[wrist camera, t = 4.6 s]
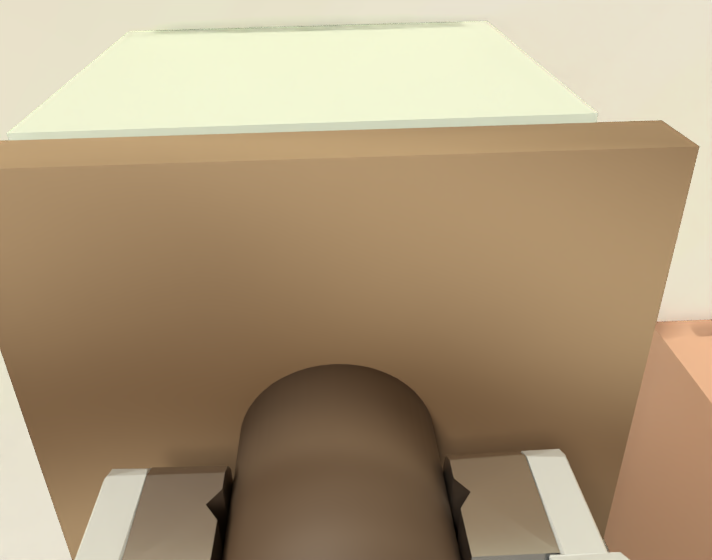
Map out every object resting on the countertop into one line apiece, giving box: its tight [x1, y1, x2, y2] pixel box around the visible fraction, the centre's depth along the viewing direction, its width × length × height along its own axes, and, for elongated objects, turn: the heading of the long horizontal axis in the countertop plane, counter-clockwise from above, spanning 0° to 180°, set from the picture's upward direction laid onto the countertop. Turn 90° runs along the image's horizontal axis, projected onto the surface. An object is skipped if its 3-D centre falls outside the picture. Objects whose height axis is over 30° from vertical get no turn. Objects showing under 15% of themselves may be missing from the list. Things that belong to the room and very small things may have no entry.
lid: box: [0, 120, 699, 560], centre depth 9 cm, size 9×9×4 cm
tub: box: [7, 21, 598, 140], centre depth 14 cm, size 8×8×7 cm
